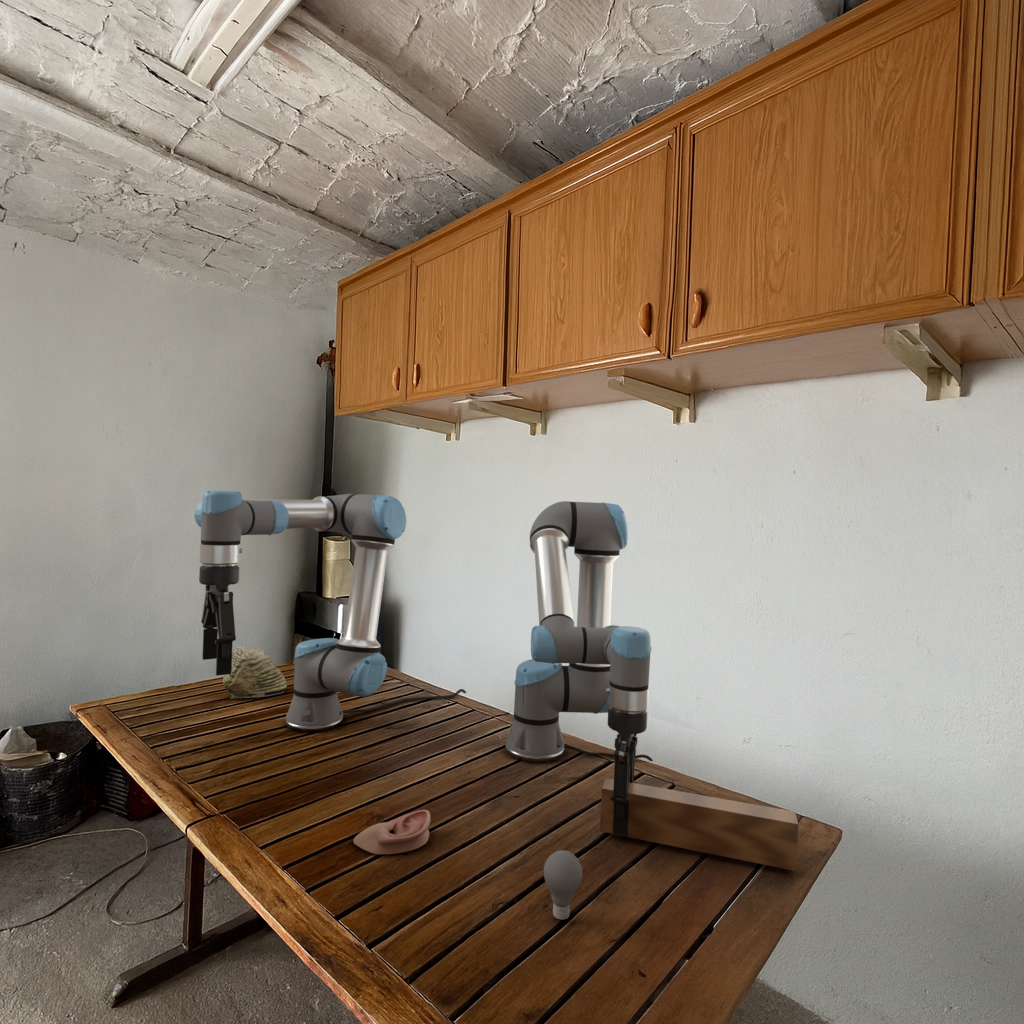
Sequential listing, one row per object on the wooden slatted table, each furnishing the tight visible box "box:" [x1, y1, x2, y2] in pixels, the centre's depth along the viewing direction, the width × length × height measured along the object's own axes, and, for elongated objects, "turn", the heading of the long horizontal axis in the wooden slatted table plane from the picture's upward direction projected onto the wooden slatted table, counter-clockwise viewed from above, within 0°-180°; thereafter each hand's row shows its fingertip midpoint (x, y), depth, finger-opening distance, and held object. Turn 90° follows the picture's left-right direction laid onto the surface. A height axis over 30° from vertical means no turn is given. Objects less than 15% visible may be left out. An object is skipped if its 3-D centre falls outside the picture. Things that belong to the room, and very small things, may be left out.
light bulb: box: [543, 849, 583, 920], centre depth 98 cm, size 6×6×10 cm
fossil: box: [222, 646, 288, 699], centre depth 198 cm, size 9×18×15 cm, turn 132°
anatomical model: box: [352, 809, 431, 856], centre depth 118 cm, size 13×4×12 cm
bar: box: [599, 777, 799, 872], centre depth 119 cm, size 35×5×8 cm, turn 72°
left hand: (216, 666), depth 132 cm, fingers open, 13 cm apart
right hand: (622, 826), depth 123 cm, fingers closed on bar, 5 cm apart
